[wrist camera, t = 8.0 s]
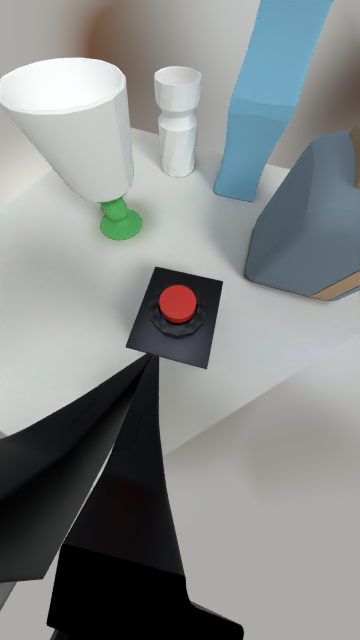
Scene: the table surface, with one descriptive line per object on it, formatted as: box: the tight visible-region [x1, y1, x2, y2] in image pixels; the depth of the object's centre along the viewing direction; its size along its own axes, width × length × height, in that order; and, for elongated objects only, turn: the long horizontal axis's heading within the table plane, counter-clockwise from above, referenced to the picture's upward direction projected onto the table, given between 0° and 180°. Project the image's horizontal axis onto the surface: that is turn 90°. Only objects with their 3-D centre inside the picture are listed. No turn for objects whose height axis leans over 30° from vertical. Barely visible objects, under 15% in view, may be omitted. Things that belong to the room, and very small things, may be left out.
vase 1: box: [154, 66, 202, 178], centre depth 30 cm, size 9×9×12 cm
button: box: [159, 285, 196, 323], centre depth 15 cm, size 4×4×2 cm
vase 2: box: [214, 0, 333, 202], centre depth 22 cm, size 10×10×25 cm
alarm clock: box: [246, 119, 360, 301], centre depth 19 cm, size 16×16×16 cm
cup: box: [0, 58, 142, 240], centre depth 22 cm, size 14×14×16 cm
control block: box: [126, 267, 223, 369], centre depth 19 cm, size 12×10×8 cm
